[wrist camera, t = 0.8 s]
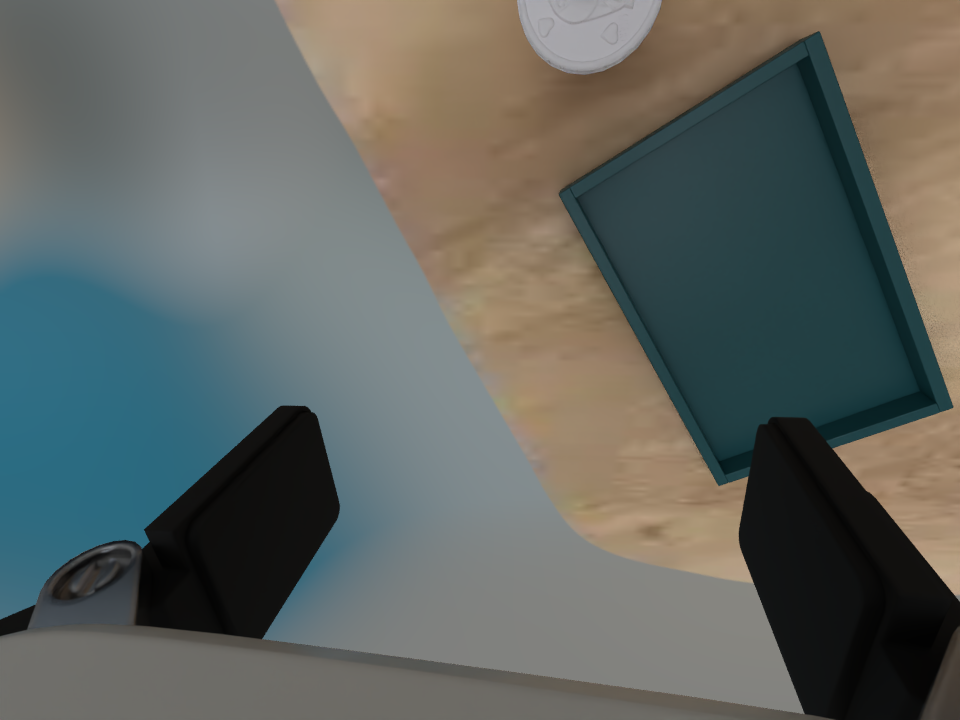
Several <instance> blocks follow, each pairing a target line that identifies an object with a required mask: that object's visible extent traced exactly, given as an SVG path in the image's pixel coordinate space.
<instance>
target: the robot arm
mask: <svg viewBox="0 0 960 720" xmlns="http://www.w3.org/2000/svg"><path fill="white" fill-rule="evenodd" d="M339 510H340V504H339V500H338V496H337V492H336V488H335V484H334V480H333V476H332V472H331V468H330V465H329V461H328V457H327V453H326V449H325V445H324V442H323V438H322V433H321V429H320V426H319V422H318V418H317V416H316V414H315V413H313V412H311V411H310V409H309V408H308V407H306V406H280V407H279V408H277V409H276V410H275V411H274V412H273V413H272V414H271V415H270V416H268V417H267V418H266V419H265V420H264V421H263V422H262V423H261V424H260V425H259V426H257V427H256V428H255V429H254V430H253V431H252V432H251V433H250V434H249V435H248V436H246V437H245V438H244V439H243V440H242V441H241V442H240V443H239V444H238V445H237V446H235V447H234V448H233V449H232V450H231V451H230V452H229V453H228V454H227V455H226V456H224V457H223V458H222V459H221V460H220V461H219V462H218V463H217V464H216V465H215V466H213V467H212V468H211V469H210V470H209V471H208V472H207V473H206V474H205V475H204V476H203V477H201V478H200V479H199V480H198V481H197V482H196V483H195V484H194V485H193V486H192V487H190V488H189V489H188V490H187V491H186V492H185V493H184V494H183V495H182V496H180V497H179V498H178V499H177V500H176V501H175V502H174V503H173V504H172V505H171V506H169V507H168V508H167V509H166V510H165V511H164V512H163V513H162V514H161V515H160V516H159V517H157V518H156V519H155V520H154V521H153V522H152V523H151V524H150V525H149V526H147V527H146V528H145V529H144V531H145V533H146V535H147V537H148V539H149V541H150V542H149V543H148V544H147V545H146V546H145V547H144V548H143V549H141V547H140V546H139V545H138V544H137V543H136V542H133V541H127V540H122V541H113V542H109V543H106V544H102V545H99V546H96V547H94V548H92V549H90V550H87V551H85V552H83V553H81V554H80V555H78V556H76V557H75V558H73V559H71V560H69V561H68V562H67V563H66V564H64V565H63V566H62V567H60V568H59V569H58V570H56V571H55V572H54V574H53V575H52V576H51V577H50V578H49V579H48V580H47V581H46V583H45V584H44V586H43V588H42V590H41V592H40V594H39V597H38V600H37V603H36V605H33V606H31V607H29V608H27V609H24V610H22V611H19V612H17V613H15V614H12V615H10V616H8V617H5V618H3V619H1V620H0V720H960V602H959V600H958V599H957V598H956V597H955V595H954V594H953V593H952V592H951V590H950V589H949V588H948V587H947V585H946V584H945V583H944V582H943V581H942V579H941V578H940V577H939V576H938V574H937V573H936V572H935V571H934V569H933V568H932V567H931V566H930V565H929V563H928V562H927V561H926V560H925V558H924V557H923V556H922V555H921V553H920V552H919V551H918V550H917V549H916V547H915V546H914V545H913V544H912V542H911V541H910V540H909V539H908V537H907V536H906V535H905V534H904V533H903V531H902V530H901V529H900V528H899V526H898V525H897V524H896V523H895V521H894V520H893V519H892V518H891V517H890V515H889V514H888V513H887V512H886V510H885V509H884V508H883V507H882V505H881V504H880V503H879V502H878V501H877V499H876V498H875V497H874V496H873V495H872V494H870V493H869V492H867V491H866V490H865V489H864V488H863V486H862V485H861V484H860V483H859V482H858V480H857V479H856V478H855V477H854V475H853V474H852V473H851V472H850V470H849V469H848V468H847V467H846V465H845V464H844V463H843V462H842V460H841V459H840V458H839V457H838V455H837V454H836V453H835V452H834V450H833V449H832V448H831V447H830V445H829V444H828V443H827V442H826V440H825V439H824V438H823V437H822V435H821V434H820V433H819V432H818V430H817V429H816V428H815V427H814V425H813V424H812V423H811V422H810V421H809V420H808V419H807V418H802V417H771V418H770V419H769V421H768V424H760V425H759V426H758V429H757V433H756V438H755V444H754V449H753V455H752V461H751V466H750V472H749V477H748V483H747V488H746V494H745V500H744V505H743V511H742V516H741V522H740V527H739V543H740V548H741V551H742V554H743V556H744V559H745V561H746V564H747V567H748V569H749V572H750V574H751V577H752V579H753V582H754V585H755V587H756V590H757V592H758V595H759V597H760V600H761V603H762V605H763V608H764V610H765V613H766V615H767V618H768V621H769V623H770V626H771V628H772V631H773V634H774V636H775V639H776V641H777V644H778V646H779V649H780V652H781V654H782V657H783V659H784V662H785V664H786V667H787V670H788V672H789V675H790V677H791V680H792V682H793V685H794V688H795V690H796V693H797V695H798V698H799V701H800V703H801V705H802V708H803V711H804V713H805V714H799V713H793V712H787V711H780V710H774V709H767V708H761V707H755V706H748V705H742V704H735V703H729V702H722V701H716V700H710V699H703V698H697V697H689V696H683V695H675V694H668V693H661V692H654V691H646V690H639V689H632V688H625V687H618V686H610V685H603V684H596V683H589V682H581V681H574V680H567V679H560V678H552V677H545V676H538V675H531V674H523V673H516V672H509V671H501V670H494V669H486V668H479V667H471V666H464V665H456V664H449V663H441V662H434V661H426V660H419V659H411V658H403V657H396V656H388V655H381V654H373V653H366V652H358V651H350V650H343V649H335V648H327V647H319V646H311V645H303V644H294V643H287V642H279V641H271V640H264V639H262V638H263V637H264V635H265V633H266V632H267V630H268V629H269V627H270V625H271V624H272V622H273V621H274V619H275V617H276V616H277V614H278V613H279V611H280V609H281V608H282V606H283V605H284V603H285V601H286V600H287V598H288V597H289V595H290V594H291V592H292V590H293V589H294V587H295V586H296V584H297V582H298V581H299V579H300V578H301V576H302V574H303V573H304V571H305V570H306V568H307V566H308V565H309V563H310V562H311V560H312V559H313V557H314V555H315V554H316V552H317V551H318V549H319V547H320V545H321V544H322V543H323V541H324V539H325V538H326V536H327V535H328V533H329V531H330V530H331V528H332V527H333V525H334V523H335V522H336V520H337V518H338V515H339Z"/></svg>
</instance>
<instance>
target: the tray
mask: <svg viewBox="0 0 960 720" xmlns="http://www.w3.org/2000/svg"><path fill="white" fill-rule="evenodd" d="M559 196H560V198H561V200H562V202H563V203H564V205H565V207H566V209H567V211H568V213H569V214H570V216H571V218H572V220H573V222H574V223H575V225H576V227H577V229H578V231H579V233H580V234H581V236H582V238H583V240H584V242H585V244H586V245H587V247H588V249H589V251H590V253H591V254H592V256H593V258H594V260H595V262H596V264H597V265H598V267H599V269H600V271H601V273H602V275H603V276H604V278H605V280H606V282H607V284H608V285H609V287H610V289H611V291H612V293H613V295H614V296H615V298H616V300H617V302H618V304H619V305H620V307H621V309H622V311H623V313H624V315H625V316H626V318H627V320H628V322H629V324H630V326H631V327H632V329H633V331H634V333H635V335H636V336H637V338H638V340H639V342H640V344H641V346H642V347H643V349H644V351H645V353H646V355H647V357H648V358H649V360H650V362H651V364H652V366H653V367H654V369H655V371H656V373H657V375H658V377H659V378H660V380H661V382H662V384H663V386H664V387H665V389H666V391H667V393H668V395H669V397H670V398H671V400H672V402H673V404H674V406H675V408H676V409H677V411H678V413H679V415H680V417H681V418H682V420H683V422H684V424H685V426H686V428H687V429H688V431H689V433H690V435H691V437H692V439H693V440H694V442H695V444H696V446H697V448H698V449H699V451H700V453H701V455H702V457H703V459H704V460H705V462H706V464H707V466H708V468H709V470H710V471H711V473H712V475H713V477H714V479H715V480H716V482H717V484H718V486H720V485H723V484H726V483H728V482H729V483H730V482H733V481H736V480H739V479H742V478H745V477H748V476H749V472H750V466H751V461H752V455H753V449H754V444H755V438H756V433H757V429H758V426H759V425H760V424H768V421H769V419H770V418H771V417H802V418H807V419H808V420H809V421H810V422H811V423H812V424H813V425H814V427H815V428H816V429H817V430H818V432H819V433H820V434H821V435H822V437H823V438H824V439H825V440H826V442H827V443H828V444H829V445H830V447H831V448H835V447H838V446H841V445H844V444H847V443H850V442H853V441H856V440H859V439H862V438H865V437H868V436H871V435H874V434H877V433H880V432H883V431H886V430H889V429H892V428H895V427H898V426H901V425H904V424H907V423H910V422H913V421H916V420H919V419H922V418H925V417H928V416H931V415H934V414H937V413H939V412H943V411H946V410H949V409H952V408H953V404H952V402H951V399H950V396H949V393H948V390H947V388H946V385H945V382H944V379H943V376H942V374H941V371H940V368H939V365H938V362H937V359H936V357H935V354H934V351H933V348H932V345H931V343H930V340H929V337H928V334H927V331H926V329H925V326H924V323H923V320H922V317H921V314H920V312H919V309H918V306H917V303H916V300H915V298H914V295H913V292H912V289H911V286H910V284H909V281H908V278H907V275H906V272H905V270H904V267H903V264H902V261H901V258H900V255H899V253H898V250H897V247H896V244H895V241H894V239H893V236H892V233H891V230H890V227H889V225H888V222H887V219H886V216H885V213H884V210H883V208H882V205H881V202H880V199H879V196H878V194H877V191H876V188H875V185H874V182H873V180H872V177H871V174H870V171H869V168H868V166H867V163H866V160H865V157H864V154H863V151H862V149H861V146H860V143H859V140H858V137H857V135H856V132H855V129H854V126H853V123H852V121H851V118H850V115H849V112H848V109H847V106H846V104H845V101H844V98H843V95H842V92H841V90H840V87H839V84H838V81H837V78H836V76H835V73H834V70H833V67H832V64H831V62H830V59H829V56H828V53H827V50H826V47H825V45H824V42H823V39H822V36H821V33H820V31H818V32H816V33H814V34H812V35H809V36H807V37H805V38H803V39H800V40H799V41H797V42H796V43H794V44H792V45H791V46H789V47H788V48H786V49H784V50H783V51H781V52H780V53H778V54H777V55H775V56H773V57H772V58H770V59H769V60H767V61H765V62H764V63H762V64H761V65H759V66H757V67H756V68H754V69H753V70H751V71H749V72H748V73H746V74H745V75H743V76H742V77H740V78H738V79H737V80H735V81H734V82H732V83H730V84H729V85H727V86H726V87H724V88H722V89H721V90H719V91H718V92H716V93H714V94H713V95H711V96H710V97H708V98H707V99H705V100H703V101H702V102H700V103H699V104H697V105H695V106H694V107H692V108H691V109H689V110H687V111H686V112H684V113H683V114H681V115H679V116H678V117H676V118H675V119H673V120H672V121H670V122H668V123H667V124H665V125H664V126H662V127H660V128H659V129H657V130H656V131H654V132H652V133H651V134H649V135H648V136H646V137H644V138H643V139H641V140H640V141H638V142H637V143H635V144H633V145H632V146H630V147H629V148H627V149H625V150H624V151H622V152H621V153H619V154H617V155H616V156H614V157H613V158H611V159H609V160H608V161H606V162H605V163H603V164H602V165H600V166H598V167H597V168H595V169H594V170H592V171H590V172H589V173H587V174H586V175H584V176H582V177H581V178H579V179H578V180H576V181H574V182H573V183H571V184H570V185H568V186H567V187H565V188H563V189H562V190H560V192H559Z"/></svg>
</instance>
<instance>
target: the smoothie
mask: <svg viewBox="0 0 960 720" xmlns="http://www.w3.org/2000/svg"><path fill="white" fill-rule="evenodd" d="M517 3H518V10H519V16H520V21H521V24H522V27H523V30H524V33H525V35H526V38H527V40H528V41H529V43H530V44H531V46H532V47H533V49H534V50H535V52H536V53H537V55H539V56H540V57H541V58H542V59H543V60H544V61H546V62H547V63H548V64H549V65H550V66H552V67H554V68H557V69H559V70H561V71H564V72H566V73H572V74H583V75H586V74H591V73H596V72H601V71H604V70H606V69H608V68H610V67H612V66H614V65H616V64H618V63H620V62H622V61H623V60H624V59H625V58H626V57H628V56H629V55H630V54H631V53H632V52H633V51H634V50H636V49H637V48H638V46H639V45H640V44H641V42H642V41H643V40H644V38H645V37H646V36H647V34H648V33H649V31H650V30H651V28H652V26H653V23H654V21H655V19H656V17H657V15H658V12H659V10H660V7H661V3H662V0H517Z"/></svg>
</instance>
